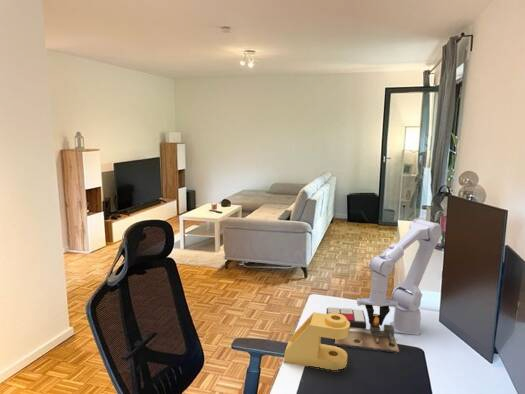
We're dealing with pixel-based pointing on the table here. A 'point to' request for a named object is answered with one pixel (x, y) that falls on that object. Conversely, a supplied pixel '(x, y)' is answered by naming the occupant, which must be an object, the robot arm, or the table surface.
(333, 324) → the yellow clevis bracket
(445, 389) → the table surface
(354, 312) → the button panel
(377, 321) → the slider leg
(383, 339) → the board
